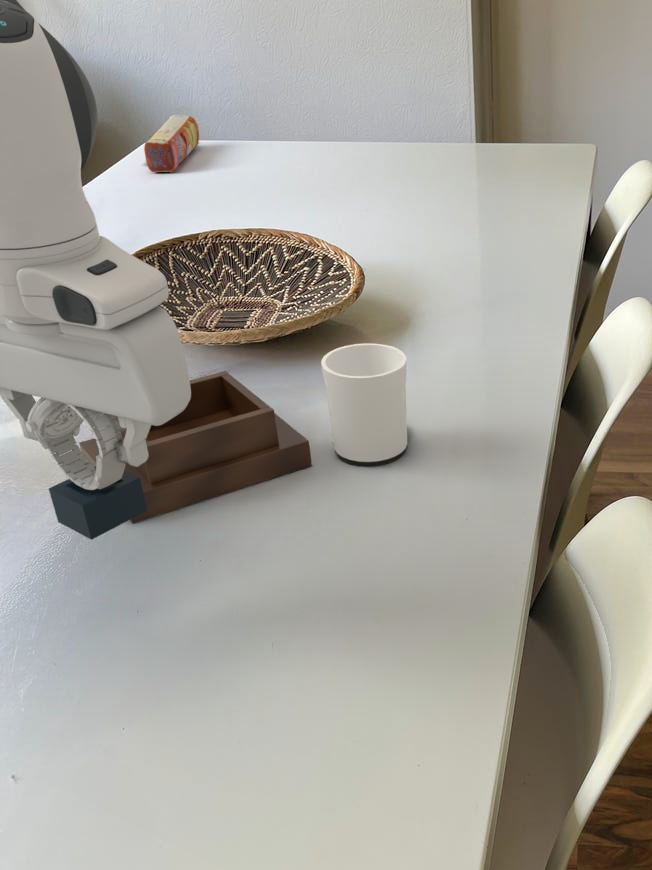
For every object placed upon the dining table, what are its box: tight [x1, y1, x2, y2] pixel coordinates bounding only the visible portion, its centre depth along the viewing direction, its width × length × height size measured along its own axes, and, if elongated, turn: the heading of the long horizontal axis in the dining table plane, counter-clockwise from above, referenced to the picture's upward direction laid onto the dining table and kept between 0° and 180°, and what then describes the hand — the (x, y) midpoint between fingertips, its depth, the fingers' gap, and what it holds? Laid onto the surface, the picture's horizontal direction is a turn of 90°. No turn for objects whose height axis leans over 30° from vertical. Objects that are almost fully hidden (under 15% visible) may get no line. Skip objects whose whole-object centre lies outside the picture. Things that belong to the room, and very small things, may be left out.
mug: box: [320, 342, 408, 467], centre depth 110 cm, size 11×9×10 cm
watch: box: [26, 397, 147, 541], centre depth 80 cm, size 6×8×11 cm
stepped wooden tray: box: [78, 370, 313, 524], centre depth 108 cm, size 20×14×7 cm
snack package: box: [143, 113, 200, 173], centre depth 209 cm, size 21×7×7 cm, turn 179°
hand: (87, 449), depth 80 cm, fingers closed on watch, 8 cm apart
